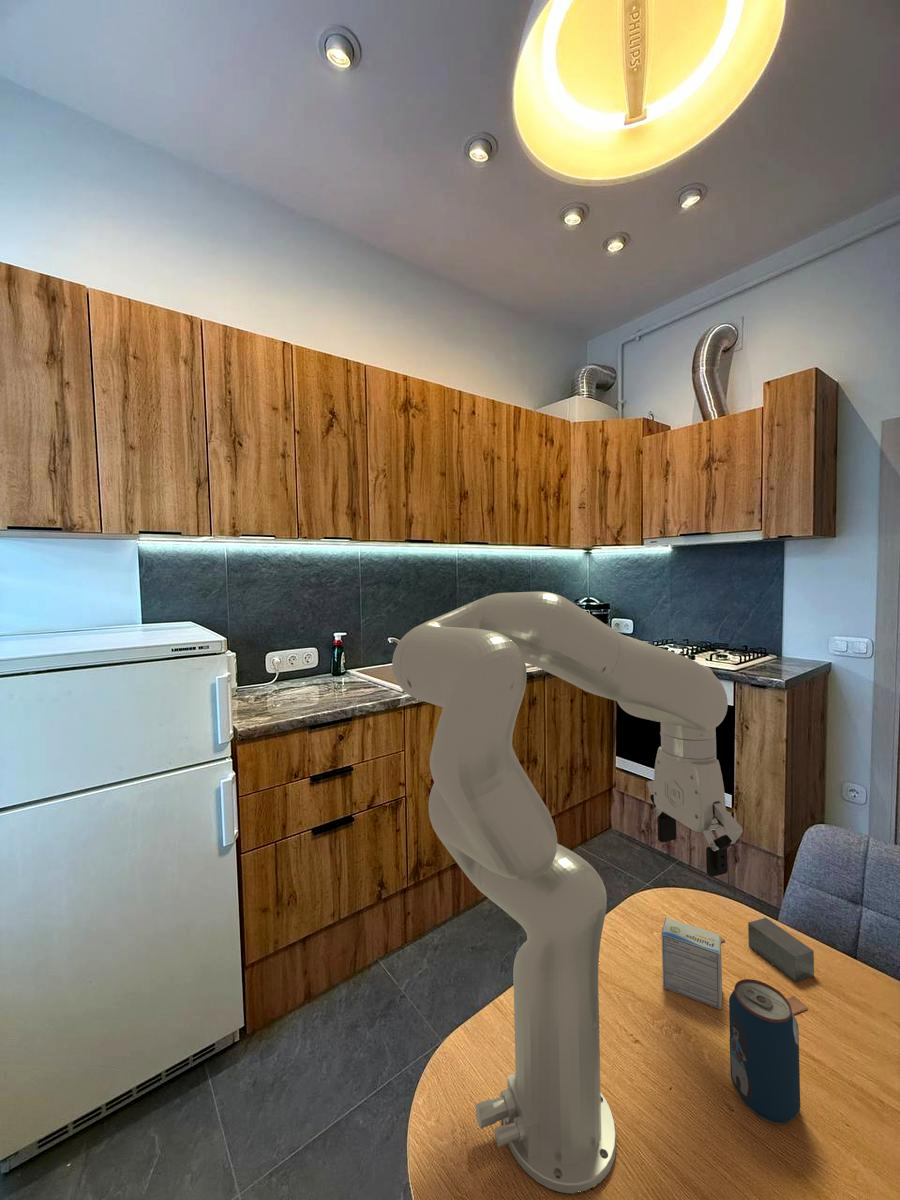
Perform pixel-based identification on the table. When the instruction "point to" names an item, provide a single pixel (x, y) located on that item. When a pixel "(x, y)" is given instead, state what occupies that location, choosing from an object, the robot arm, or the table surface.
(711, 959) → the medicine box
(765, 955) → the connector dock
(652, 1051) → the table surface
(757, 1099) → the soda can
